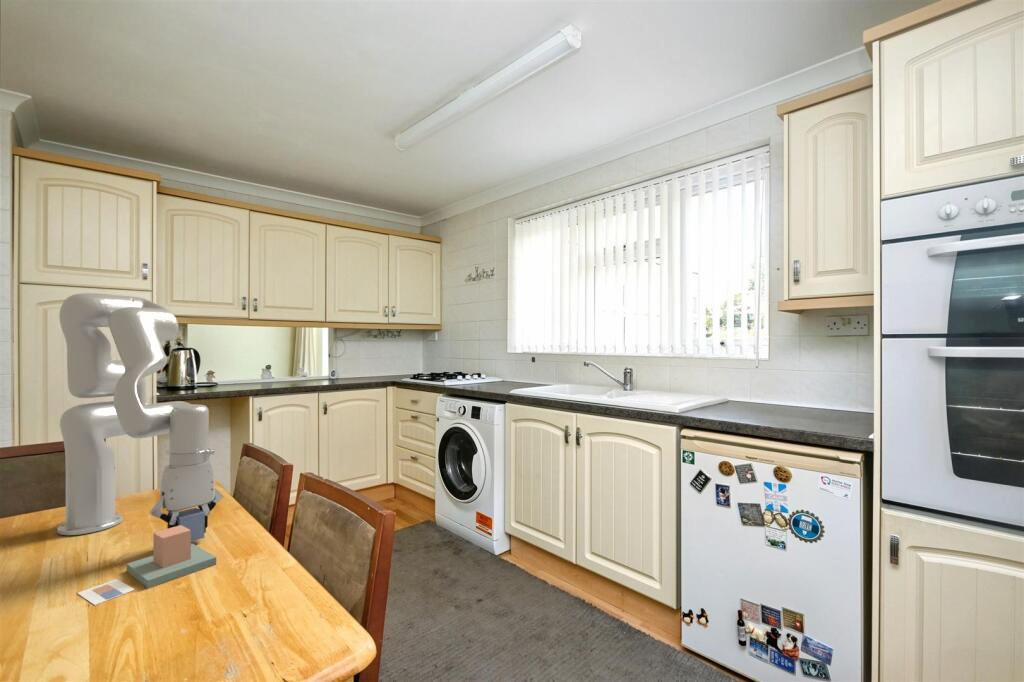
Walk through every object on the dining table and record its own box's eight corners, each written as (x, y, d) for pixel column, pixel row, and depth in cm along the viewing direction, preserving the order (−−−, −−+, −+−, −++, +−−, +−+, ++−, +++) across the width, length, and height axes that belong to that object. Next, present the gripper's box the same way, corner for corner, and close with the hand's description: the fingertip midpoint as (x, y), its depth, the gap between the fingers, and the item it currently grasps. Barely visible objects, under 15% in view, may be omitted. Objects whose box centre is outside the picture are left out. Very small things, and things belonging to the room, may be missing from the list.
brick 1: (153, 561, 98) (153, 532, 98) (181, 552, 102) (181, 525, 102) (162, 568, 95) (162, 538, 95) (190, 558, 99) (190, 530, 99)
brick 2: (171, 539, 110) (171, 513, 110) (195, 532, 114) (195, 507, 114) (179, 545, 107) (180, 518, 107) (204, 537, 111) (204, 512, 111)
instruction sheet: (77, 593, 89) (77, 592, 89) (116, 579, 94) (116, 578, 94) (94, 605, 85) (94, 604, 85) (134, 590, 90) (134, 589, 90)
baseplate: (126, 570, 97) (126, 563, 97) (192, 549, 107) (192, 543, 107) (147, 588, 90) (147, 580, 90) (216, 564, 100) (216, 557, 100)
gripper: (221, 449, 119) (220, 520, 120) (138, 462, 106) (137, 543, 106) (235, 453, 115) (233, 528, 115) (151, 468, 101) (149, 553, 101)
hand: (187, 534), depth 110 cm, fingers closed on brick 2, 5 cm apart
